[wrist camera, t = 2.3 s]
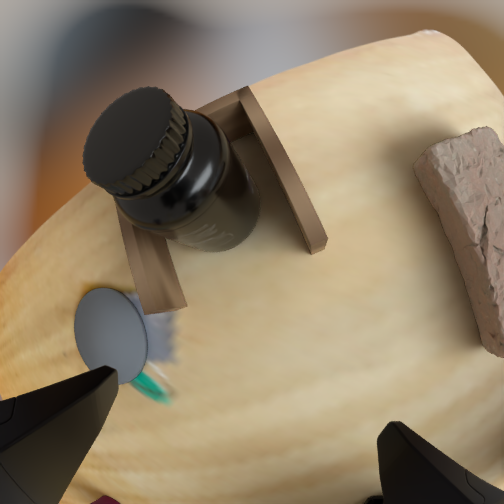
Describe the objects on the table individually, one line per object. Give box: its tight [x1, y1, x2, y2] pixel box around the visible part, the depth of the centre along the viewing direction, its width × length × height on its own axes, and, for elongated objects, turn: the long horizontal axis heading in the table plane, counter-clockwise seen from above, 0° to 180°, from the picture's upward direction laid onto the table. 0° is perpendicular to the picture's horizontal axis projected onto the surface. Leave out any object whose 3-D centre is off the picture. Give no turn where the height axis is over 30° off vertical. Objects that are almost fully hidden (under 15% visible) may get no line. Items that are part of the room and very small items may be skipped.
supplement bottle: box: [83, 86, 261, 252], centre depth 15 cm, size 7×7×12 cm
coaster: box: [74, 288, 148, 385], centre depth 22 cm, size 9×9×1 cm
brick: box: [413, 126, 504, 358], centre depth 14 cm, size 16×8×5 cm, turn 24°
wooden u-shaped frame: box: [116, 86, 328, 315], centre depth 19 cm, size 12×12×4 cm
